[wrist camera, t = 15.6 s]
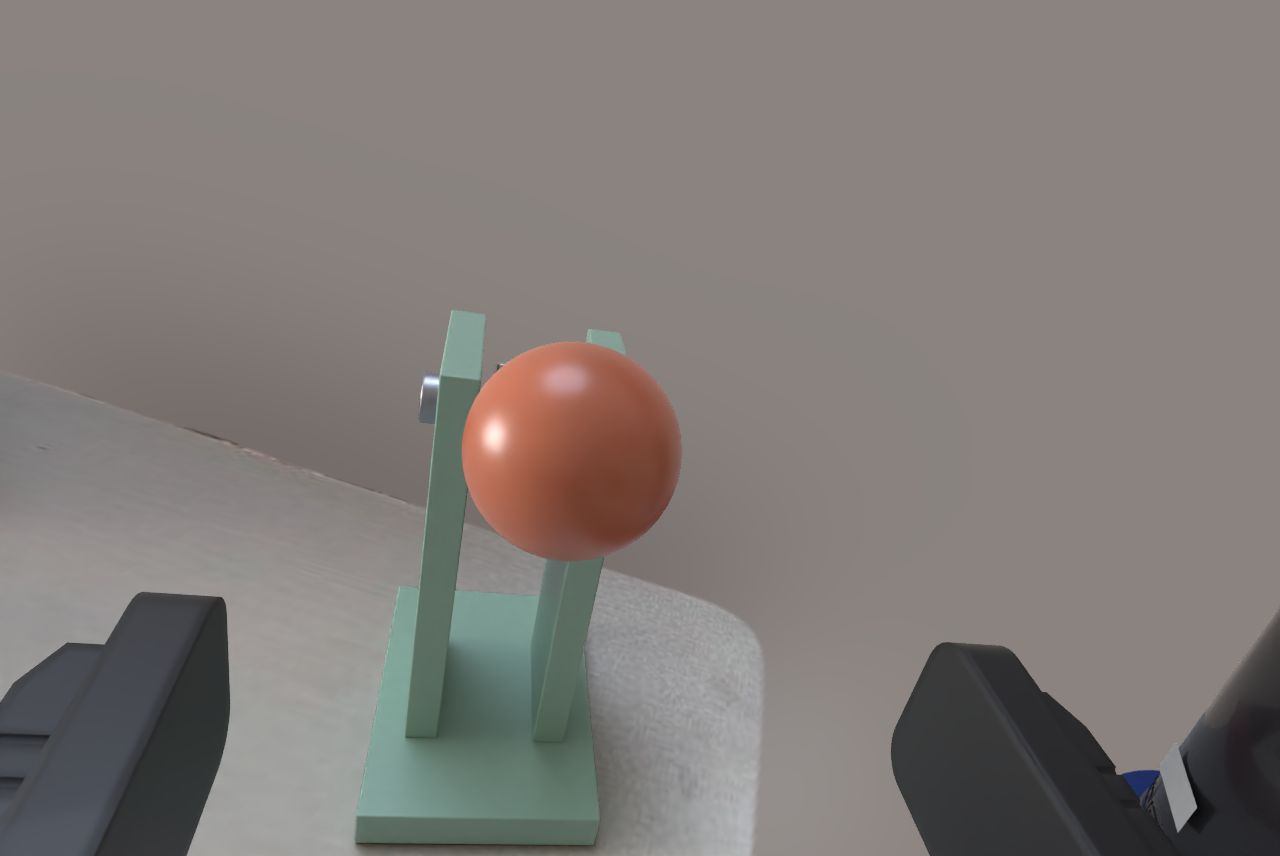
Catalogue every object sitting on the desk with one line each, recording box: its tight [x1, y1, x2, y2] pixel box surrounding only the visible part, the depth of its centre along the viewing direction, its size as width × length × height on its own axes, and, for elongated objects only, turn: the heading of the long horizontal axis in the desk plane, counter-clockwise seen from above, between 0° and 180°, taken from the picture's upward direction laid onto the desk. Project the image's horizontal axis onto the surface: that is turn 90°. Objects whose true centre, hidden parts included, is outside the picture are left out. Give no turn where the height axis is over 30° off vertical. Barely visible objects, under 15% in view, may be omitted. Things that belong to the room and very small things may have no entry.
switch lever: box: [462, 342, 682, 561], centre depth 19 cm, size 13×4×4 cm, turn 6°
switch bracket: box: [355, 310, 627, 845], centre depth 26 cm, size 10×7×14 cm
